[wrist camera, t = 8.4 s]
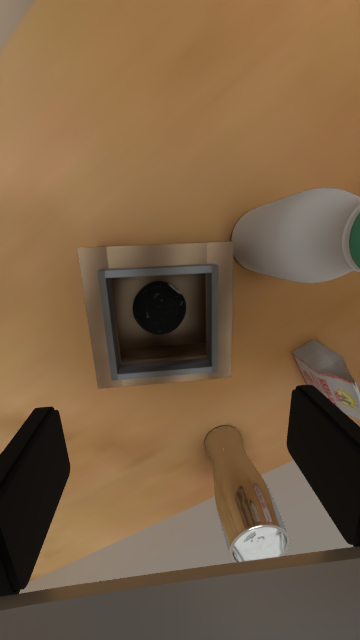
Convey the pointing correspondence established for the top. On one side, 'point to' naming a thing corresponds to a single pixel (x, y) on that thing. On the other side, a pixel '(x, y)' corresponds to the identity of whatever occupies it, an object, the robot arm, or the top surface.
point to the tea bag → (329, 376)
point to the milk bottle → (301, 236)
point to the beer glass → (244, 500)
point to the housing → (150, 349)
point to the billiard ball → (159, 308)
